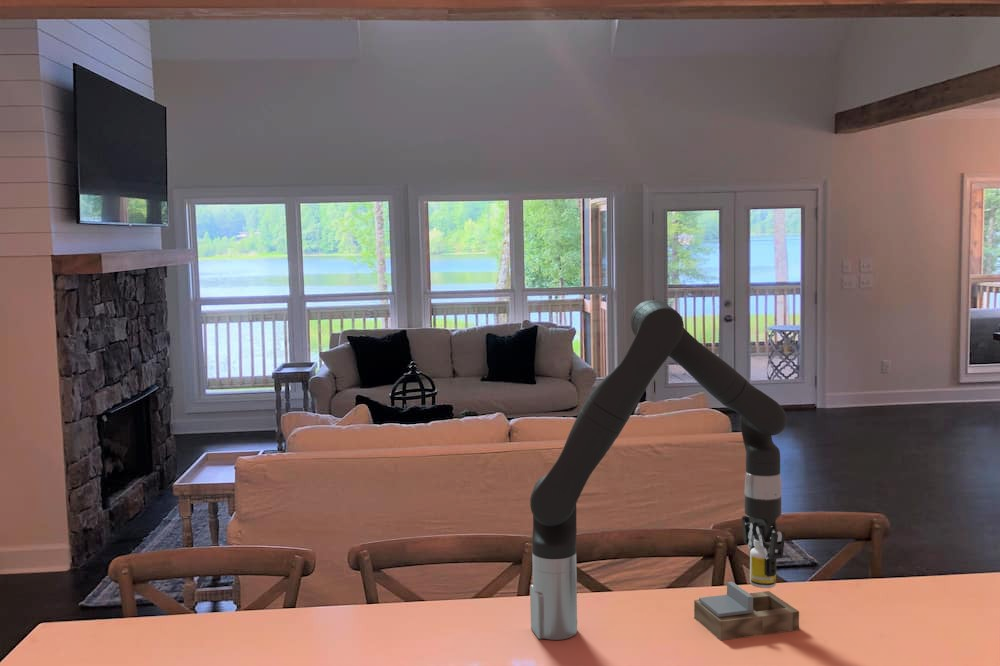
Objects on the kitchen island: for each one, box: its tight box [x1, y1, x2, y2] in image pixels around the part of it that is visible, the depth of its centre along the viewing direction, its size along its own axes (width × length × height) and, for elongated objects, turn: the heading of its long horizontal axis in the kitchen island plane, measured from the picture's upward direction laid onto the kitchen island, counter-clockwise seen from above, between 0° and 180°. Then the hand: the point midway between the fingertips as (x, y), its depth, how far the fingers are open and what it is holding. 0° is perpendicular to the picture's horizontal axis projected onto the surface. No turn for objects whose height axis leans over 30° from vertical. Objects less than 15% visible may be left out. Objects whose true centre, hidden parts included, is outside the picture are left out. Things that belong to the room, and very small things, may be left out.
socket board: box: [693, 590, 800, 641], centre depth 194 cm, size 18×12×4 cm, turn 104°
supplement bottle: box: [749, 538, 777, 589], centre depth 194 cm, size 5×5×10 cm
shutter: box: [698, 581, 754, 617], centre depth 193 cm, size 8×9×4 cm
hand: (762, 570), depth 194 cm, fingers closed on supplement bottle, 5 cm apart
